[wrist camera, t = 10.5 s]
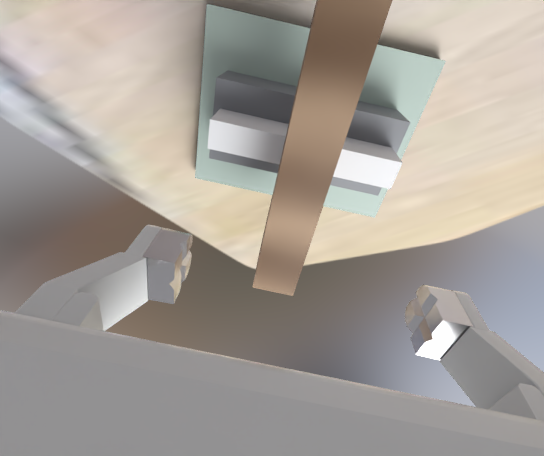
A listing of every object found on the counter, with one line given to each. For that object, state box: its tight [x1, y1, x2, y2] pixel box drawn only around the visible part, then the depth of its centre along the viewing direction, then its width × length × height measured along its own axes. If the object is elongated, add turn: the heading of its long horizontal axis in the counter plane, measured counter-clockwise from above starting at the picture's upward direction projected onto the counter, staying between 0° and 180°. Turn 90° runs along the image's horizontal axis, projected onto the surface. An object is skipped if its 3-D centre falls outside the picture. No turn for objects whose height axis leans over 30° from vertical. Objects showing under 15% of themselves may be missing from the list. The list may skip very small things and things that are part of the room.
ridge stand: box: [195, 4, 446, 217], centre depth 25 cm, size 14×18×8 cm
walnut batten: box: [253, 0, 392, 296], centre depth 20 cm, size 18×3×4 cm, turn 169°
